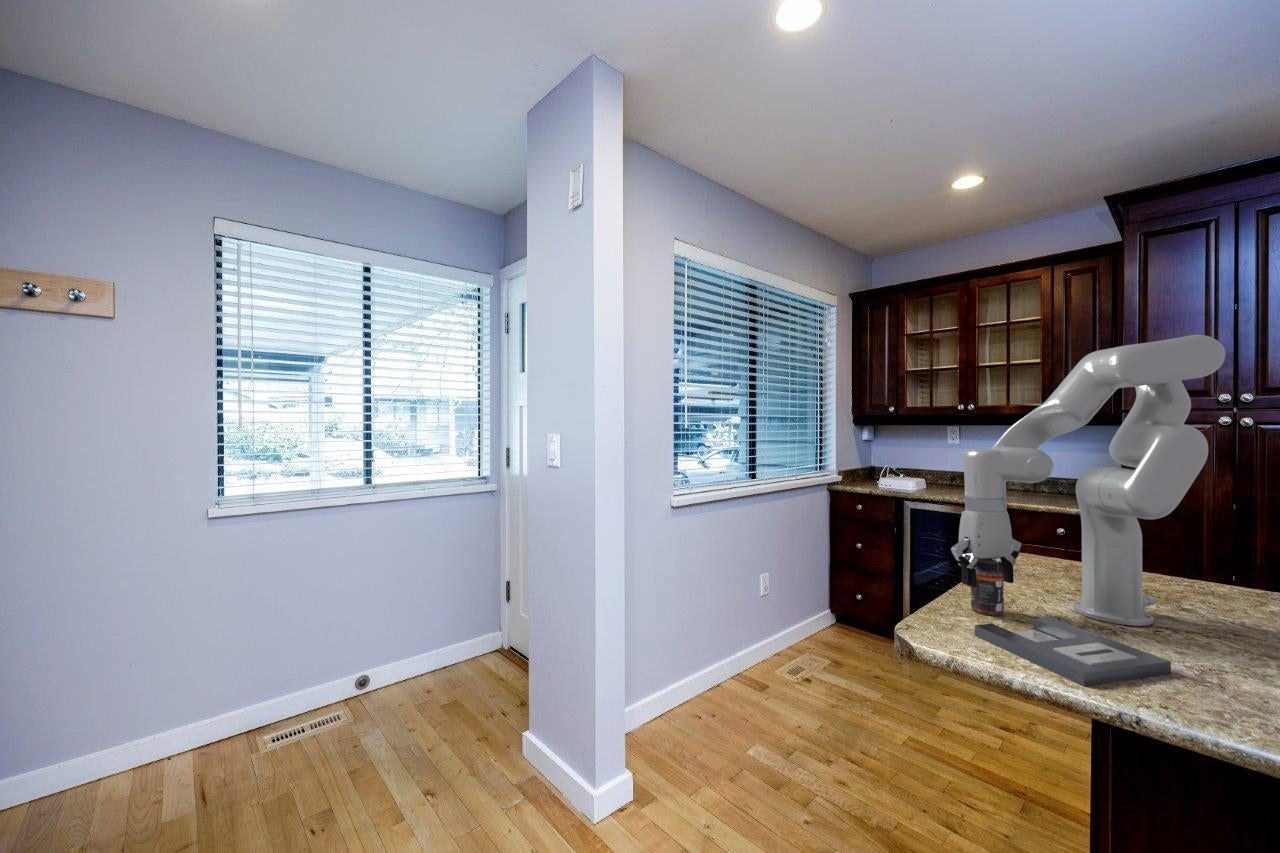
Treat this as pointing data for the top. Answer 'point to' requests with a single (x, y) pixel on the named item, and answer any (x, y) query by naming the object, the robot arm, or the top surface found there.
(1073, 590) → the top surface
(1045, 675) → the top surface
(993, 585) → the supplement bottle
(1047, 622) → the plate
